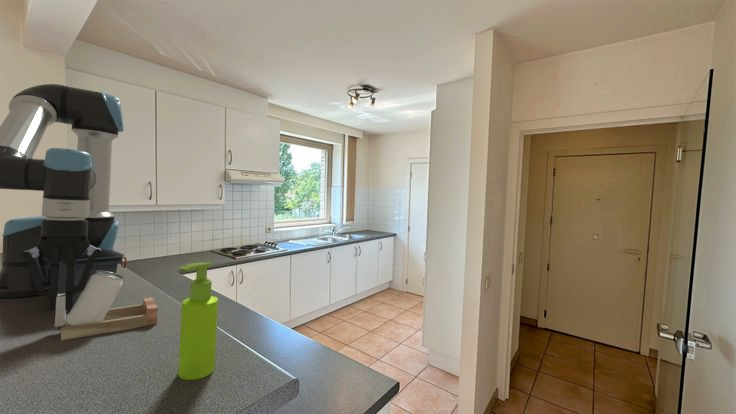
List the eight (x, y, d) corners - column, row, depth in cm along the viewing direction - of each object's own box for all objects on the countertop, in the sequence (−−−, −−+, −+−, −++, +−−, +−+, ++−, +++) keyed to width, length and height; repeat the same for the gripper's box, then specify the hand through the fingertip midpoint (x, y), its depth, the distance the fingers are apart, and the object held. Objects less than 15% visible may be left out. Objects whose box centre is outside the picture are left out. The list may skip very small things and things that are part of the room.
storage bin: (45, 298, 91) (48, 249, 91) (112, 289, 103) (114, 246, 103) (60, 317, 78) (63, 260, 78) (134, 304, 90) (137, 254, 90)
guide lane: (65, 324, 74) (66, 308, 74) (151, 311, 85) (152, 297, 85) (60, 340, 66) (61, 322, 66) (156, 324, 77) (157, 308, 77)
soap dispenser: (164, 377, 55) (170, 264, 55) (199, 360, 61) (204, 258, 61) (188, 386, 52) (194, 268, 52) (221, 367, 59) (227, 262, 59)
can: (77, 330, 68) (107, 278, 71) (57, 319, 70) (87, 268, 72) (105, 328, 74) (132, 280, 77) (85, 318, 76) (112, 271, 78)
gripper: (18, 219, 62) (12, 336, 62) (103, 220, 71) (98, 323, 71) (26, 217, 68) (20, 324, 68) (104, 218, 76) (98, 314, 76)
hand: (60, 324), depth 69 cm, fingers closed
